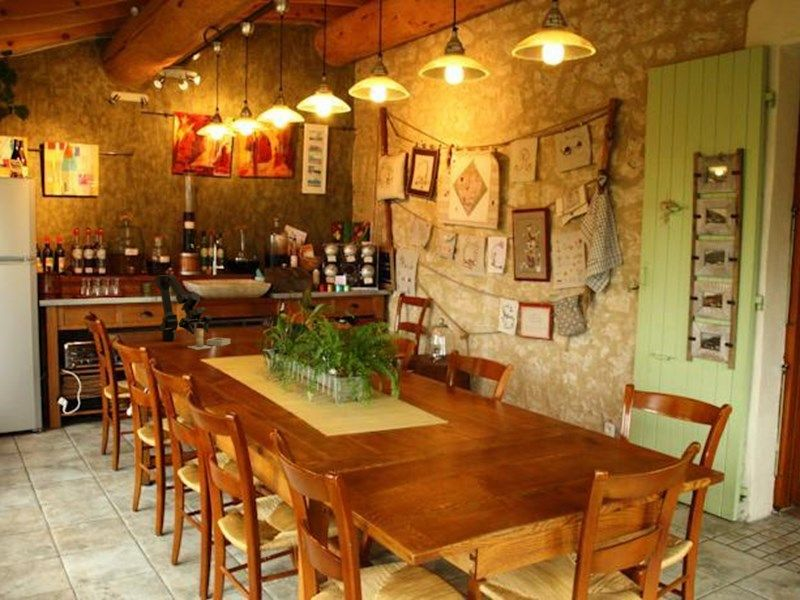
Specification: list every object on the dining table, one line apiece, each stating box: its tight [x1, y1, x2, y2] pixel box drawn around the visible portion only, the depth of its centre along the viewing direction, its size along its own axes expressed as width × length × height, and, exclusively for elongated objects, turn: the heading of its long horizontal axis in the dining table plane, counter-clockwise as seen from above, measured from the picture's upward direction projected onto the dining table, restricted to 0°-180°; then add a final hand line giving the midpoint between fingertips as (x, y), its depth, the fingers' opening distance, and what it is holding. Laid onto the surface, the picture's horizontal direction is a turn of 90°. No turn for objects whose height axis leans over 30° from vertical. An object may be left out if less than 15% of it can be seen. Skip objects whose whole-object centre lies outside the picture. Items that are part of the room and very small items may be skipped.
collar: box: [205, 337, 231, 347], centre depth 457 cm, size 10×10×3 cm
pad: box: [186, 344, 213, 351], centre depth 443 cm, size 10×10×1 cm
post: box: [195, 328, 205, 347], centre depth 442 cm, size 4×4×10 cm
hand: (200, 333), depth 441 cm, fingers open, 9 cm apart
